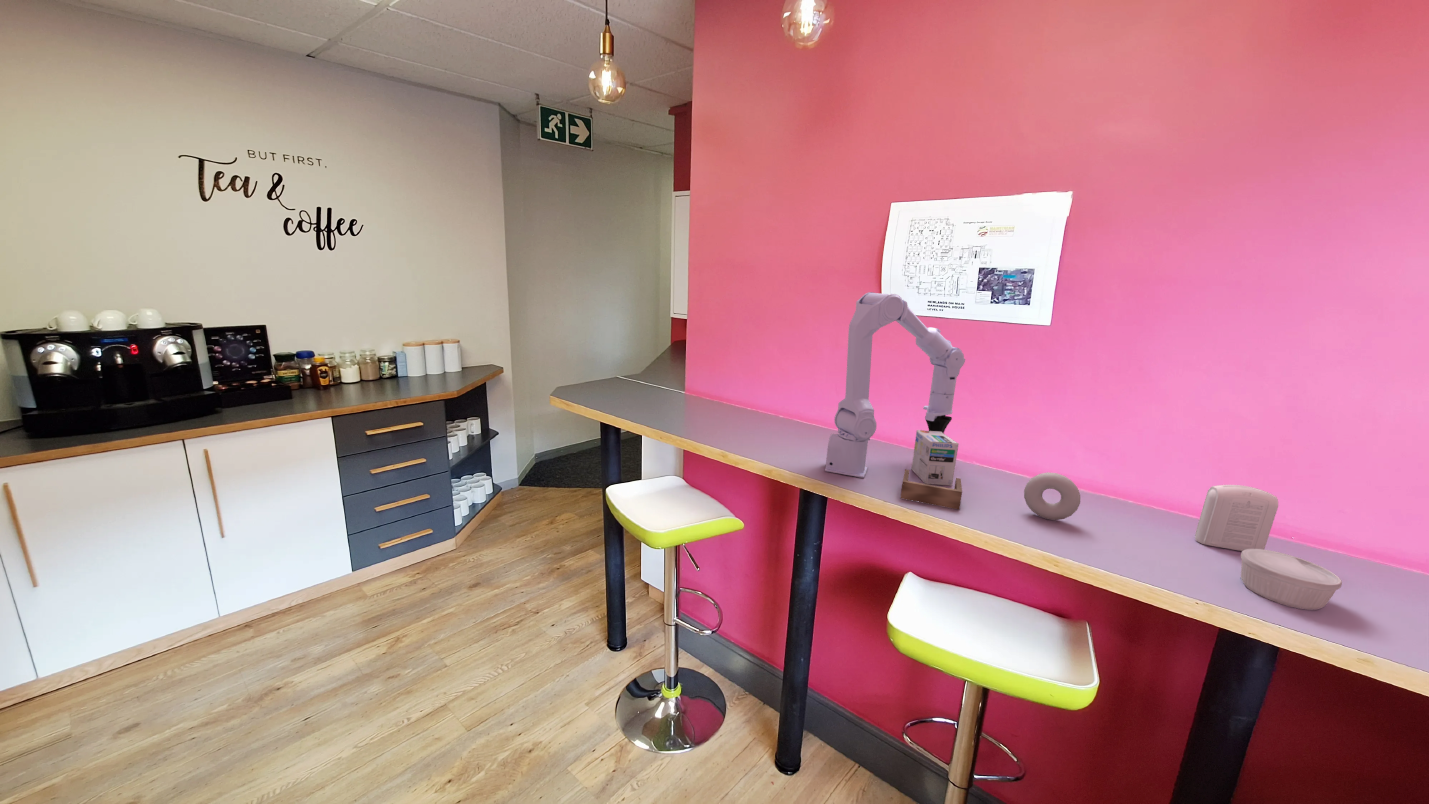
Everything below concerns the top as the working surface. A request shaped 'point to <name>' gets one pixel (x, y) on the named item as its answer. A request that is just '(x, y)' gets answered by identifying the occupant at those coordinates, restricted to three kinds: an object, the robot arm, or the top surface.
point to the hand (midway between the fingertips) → (934, 442)
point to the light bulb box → (934, 457)
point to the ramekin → (1288, 579)
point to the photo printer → (1236, 517)
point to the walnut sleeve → (932, 493)
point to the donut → (1048, 510)
